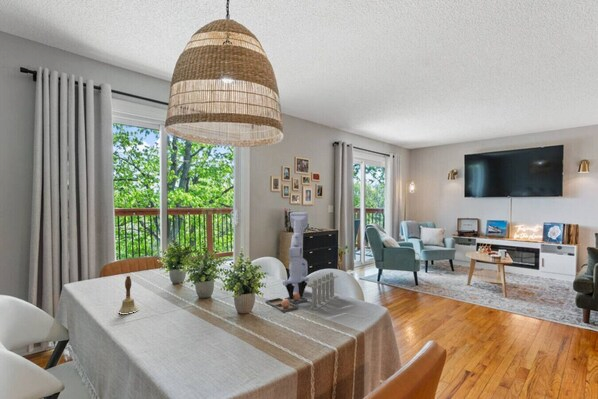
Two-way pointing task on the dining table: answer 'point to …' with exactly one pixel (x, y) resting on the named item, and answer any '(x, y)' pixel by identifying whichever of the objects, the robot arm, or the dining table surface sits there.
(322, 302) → the test tube rack
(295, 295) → the terracotta ball
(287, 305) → the ball
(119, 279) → the dining table surface
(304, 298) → the shallow grey square tray
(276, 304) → the pair tray
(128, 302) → the hand bell
